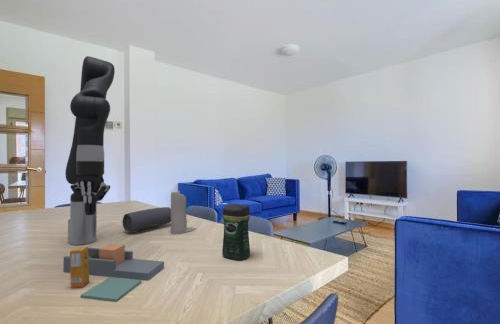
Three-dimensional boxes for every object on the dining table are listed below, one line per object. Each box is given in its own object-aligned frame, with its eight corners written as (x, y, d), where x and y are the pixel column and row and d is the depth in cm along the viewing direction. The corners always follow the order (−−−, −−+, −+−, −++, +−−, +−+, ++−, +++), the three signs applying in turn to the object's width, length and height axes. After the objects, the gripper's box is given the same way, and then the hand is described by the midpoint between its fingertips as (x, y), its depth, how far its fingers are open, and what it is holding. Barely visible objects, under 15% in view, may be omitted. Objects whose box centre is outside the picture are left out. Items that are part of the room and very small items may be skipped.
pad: (80, 297, 63) (80, 295, 63) (109, 279, 73) (109, 277, 73) (116, 301, 62) (116, 299, 62) (141, 282, 72) (141, 280, 72)
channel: (63, 272, 78) (63, 257, 78) (87, 260, 87) (87, 247, 87) (147, 280, 73) (147, 264, 73) (164, 267, 82) (164, 253, 82)
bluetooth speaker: (162, 223, 140) (163, 205, 140) (173, 226, 135) (173, 207, 135) (121, 232, 122) (121, 211, 122) (132, 236, 116) (132, 213, 116)
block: (98, 265, 78) (99, 249, 78) (110, 259, 83) (110, 243, 83) (113, 267, 77) (113, 250, 77) (124, 260, 82) (124, 245, 82)
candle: (199, 228, 130) (199, 188, 130) (177, 235, 118) (178, 191, 118) (188, 226, 134) (189, 188, 134) (167, 232, 122) (167, 190, 122)
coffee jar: (253, 255, 93) (253, 204, 93) (242, 262, 86) (242, 207, 87) (230, 250, 98) (231, 201, 98) (218, 257, 91) (219, 204, 91)
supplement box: (76, 282, 71) (76, 246, 71) (89, 282, 71) (89, 246, 71) (68, 288, 68) (69, 250, 68) (82, 288, 68) (83, 250, 68)
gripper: (62, 159, 79) (61, 216, 79) (100, 159, 77) (99, 218, 77) (82, 160, 86) (81, 211, 86) (117, 160, 84) (117, 213, 84)
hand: (90, 214), depth 81 cm, fingers closed
